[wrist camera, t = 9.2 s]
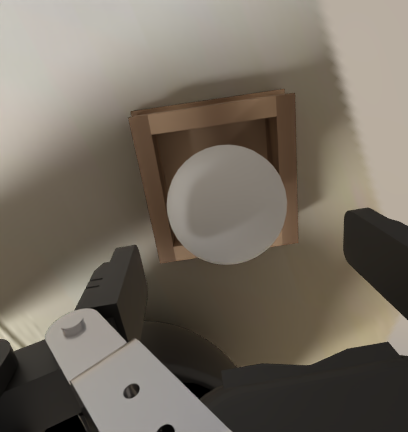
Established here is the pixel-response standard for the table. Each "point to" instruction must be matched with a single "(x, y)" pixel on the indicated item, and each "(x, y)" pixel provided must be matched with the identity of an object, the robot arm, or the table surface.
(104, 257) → the table surface
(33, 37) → the table surface
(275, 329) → the table surface
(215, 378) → the coal bowl
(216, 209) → the lightbulb
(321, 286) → the table surface
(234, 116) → the wooden tray
